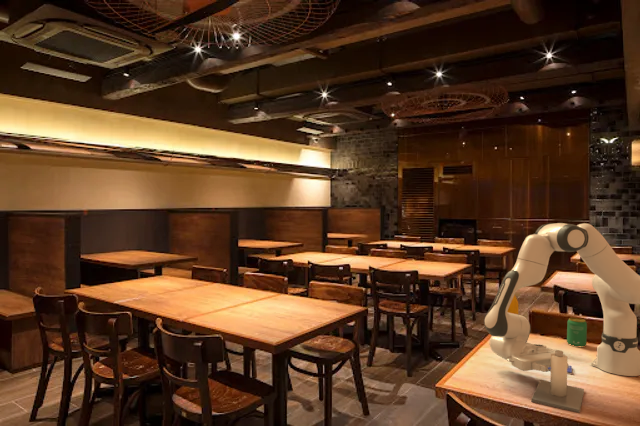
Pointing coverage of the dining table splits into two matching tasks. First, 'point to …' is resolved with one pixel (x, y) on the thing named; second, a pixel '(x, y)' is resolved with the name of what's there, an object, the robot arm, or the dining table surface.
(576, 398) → the slate board
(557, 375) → the salt mill
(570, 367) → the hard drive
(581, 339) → the beverage can
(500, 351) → the robot arm
